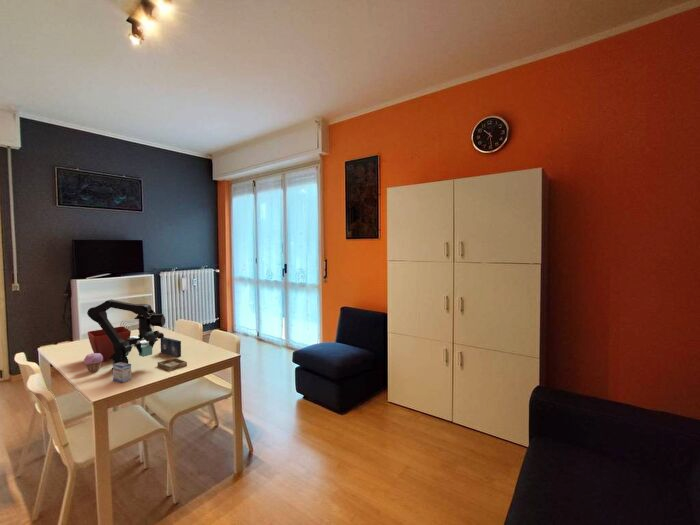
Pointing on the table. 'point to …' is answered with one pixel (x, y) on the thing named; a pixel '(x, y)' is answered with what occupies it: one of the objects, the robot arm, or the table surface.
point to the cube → (146, 350)
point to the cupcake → (93, 361)
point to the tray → (172, 364)
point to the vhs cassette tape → (171, 347)
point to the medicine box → (121, 372)
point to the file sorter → (134, 325)
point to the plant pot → (105, 341)
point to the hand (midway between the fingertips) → (145, 353)
